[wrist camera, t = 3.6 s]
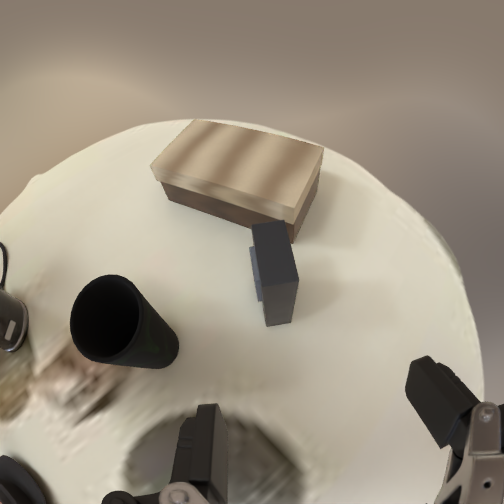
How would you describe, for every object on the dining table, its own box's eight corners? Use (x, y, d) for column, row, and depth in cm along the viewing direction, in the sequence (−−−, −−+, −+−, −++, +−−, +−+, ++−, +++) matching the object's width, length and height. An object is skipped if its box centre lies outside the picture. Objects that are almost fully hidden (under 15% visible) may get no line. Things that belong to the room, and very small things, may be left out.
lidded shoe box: (167, 202, 41) (149, 165, 34) (204, 156, 45) (194, 119, 38) (291, 247, 35) (294, 208, 28) (318, 188, 40) (324, 147, 33)
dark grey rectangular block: (262, 327, 31) (255, 288, 20) (255, 282, 33) (245, 225, 23) (290, 322, 31) (299, 280, 20) (282, 278, 33) (284, 219, 23)
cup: (124, 324, 32) (67, 287, 21) (178, 308, 32) (136, 262, 22) (136, 383, 28) (74, 369, 18) (195, 368, 29) (151, 350, 18)
